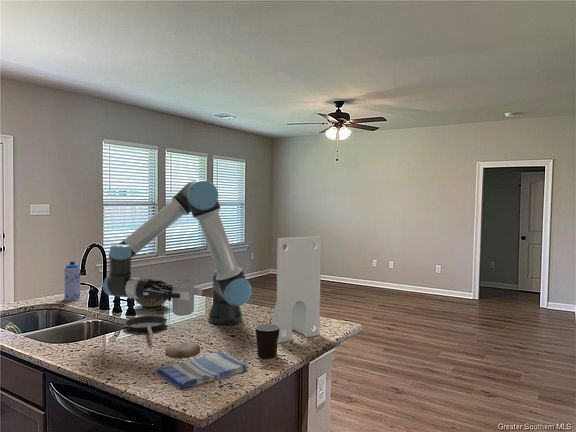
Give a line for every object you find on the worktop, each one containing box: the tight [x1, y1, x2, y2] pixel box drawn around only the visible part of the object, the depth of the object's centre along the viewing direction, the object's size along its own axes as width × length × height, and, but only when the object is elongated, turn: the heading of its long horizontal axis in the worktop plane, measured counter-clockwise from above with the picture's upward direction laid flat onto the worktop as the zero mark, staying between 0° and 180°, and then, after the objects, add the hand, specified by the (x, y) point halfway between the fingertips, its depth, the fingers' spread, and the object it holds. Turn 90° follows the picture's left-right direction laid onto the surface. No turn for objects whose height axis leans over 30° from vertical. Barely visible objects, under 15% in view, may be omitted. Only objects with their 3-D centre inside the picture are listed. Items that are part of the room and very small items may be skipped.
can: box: [171, 278, 195, 317], centre depth 150 cm, size 8×8×12 cm
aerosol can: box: [64, 261, 82, 302], centre depth 227 cm, size 8×8×20 cm
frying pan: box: [123, 315, 168, 336], centre depth 172 cm, size 18×32×4 cm, turn 23°
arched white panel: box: [270, 236, 322, 344], centre depth 172 cm, size 20×14×40 cm
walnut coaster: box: [165, 342, 201, 358], centre depth 151 cm, size 12×12×1 cm
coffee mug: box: [254, 323, 280, 360], centre depth 149 cm, size 12×9×10 cm
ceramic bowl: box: [134, 279, 168, 311], centre depth 211 cm, size 24×18×15 cm
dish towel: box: [156, 351, 249, 390], centre depth 133 cm, size 17×24×3 cm
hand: (195, 294), depth 149 cm, fingers closed on can, 7 cm apart
